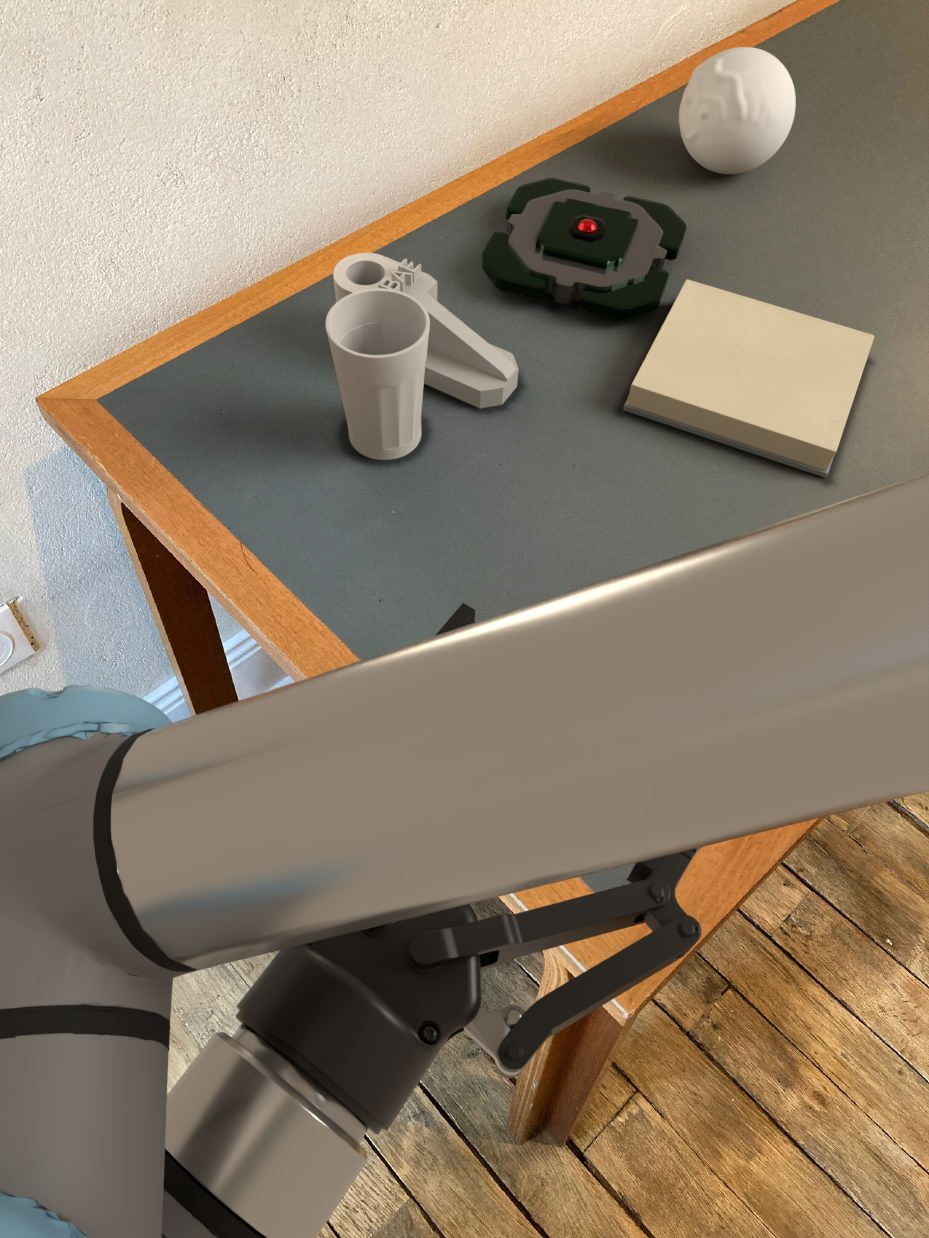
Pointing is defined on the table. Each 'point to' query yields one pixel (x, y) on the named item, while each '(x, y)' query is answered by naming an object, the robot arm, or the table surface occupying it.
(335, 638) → the table surface
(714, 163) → the decorative ball
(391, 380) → the cup
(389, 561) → the table surface
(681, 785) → the robot arm
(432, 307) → the grey mounting bracket
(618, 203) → the clover-shaped pad
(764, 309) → the cream flat slab
